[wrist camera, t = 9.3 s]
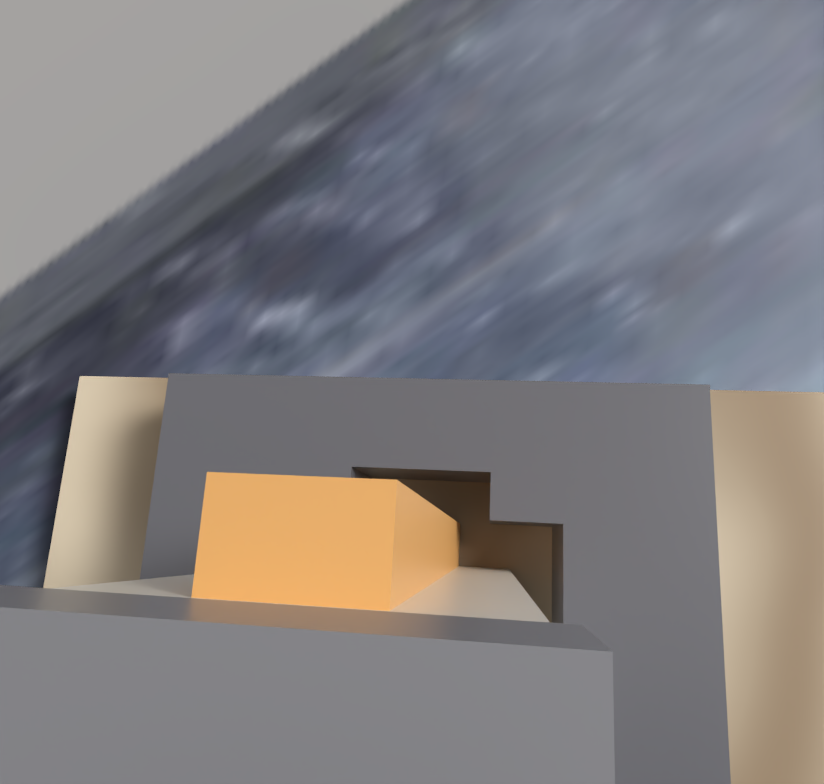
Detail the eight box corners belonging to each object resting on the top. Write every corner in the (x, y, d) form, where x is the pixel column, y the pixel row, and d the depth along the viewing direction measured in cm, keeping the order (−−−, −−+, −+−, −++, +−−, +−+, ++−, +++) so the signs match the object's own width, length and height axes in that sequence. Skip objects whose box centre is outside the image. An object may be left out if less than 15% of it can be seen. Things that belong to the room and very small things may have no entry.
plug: (328, 740, 15) (-517, 1755, 2) (344, 518, 16) (-171, 422, 4) (510, 758, 14) (640, 2177, 2) (514, 526, 16) (608, 448, 3)
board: (12, 953, 16) (-26, 986, 15) (104, 385, 19) (79, 375, 18) (887, 1083, 13) (925, 1135, 12) (823, 403, 17) (848, 393, 15)
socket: (149, 907, 15) (82, 979, 12) (213, 396, 17) (168, 373, 15) (699, 981, 13) (746, 1080, 11) (676, 409, 16) (709, 384, 13)
